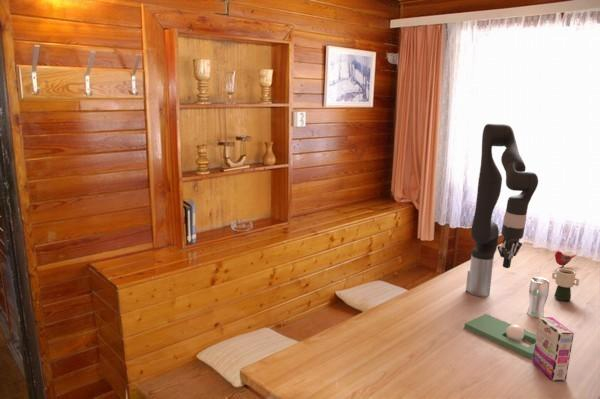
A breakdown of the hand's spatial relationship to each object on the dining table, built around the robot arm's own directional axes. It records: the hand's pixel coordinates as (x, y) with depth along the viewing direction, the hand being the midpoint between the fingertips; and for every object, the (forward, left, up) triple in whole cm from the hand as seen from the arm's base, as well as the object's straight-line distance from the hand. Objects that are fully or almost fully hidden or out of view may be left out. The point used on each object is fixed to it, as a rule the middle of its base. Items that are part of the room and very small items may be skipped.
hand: (506, 267), depth 178 cm
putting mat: (+8, -9, -23) cm, 26 cm away
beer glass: (+5, +18, -23) cm, 30 cm away
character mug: (+4, +43, -23) cm, 49 cm away
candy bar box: (+28, -18, -23) cm, 40 cm away
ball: (+11, -9, -20) cm, 24 cm away
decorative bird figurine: (-14, +84, -23) cm, 88 cm away
